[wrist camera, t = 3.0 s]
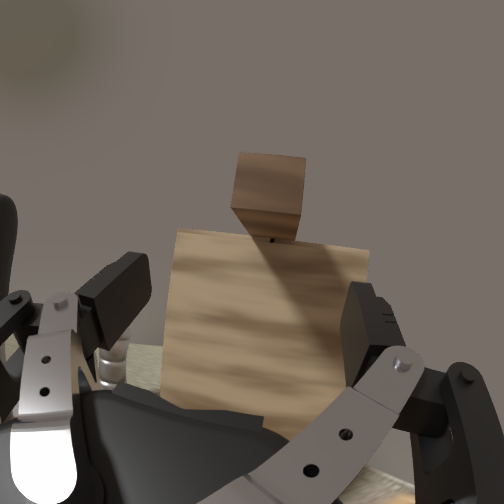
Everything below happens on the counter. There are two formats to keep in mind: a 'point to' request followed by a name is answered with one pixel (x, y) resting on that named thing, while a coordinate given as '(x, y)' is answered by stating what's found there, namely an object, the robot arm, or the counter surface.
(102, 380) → the plastic bottle
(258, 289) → the wooden block
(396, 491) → the counter surface
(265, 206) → the brown wooden bar
